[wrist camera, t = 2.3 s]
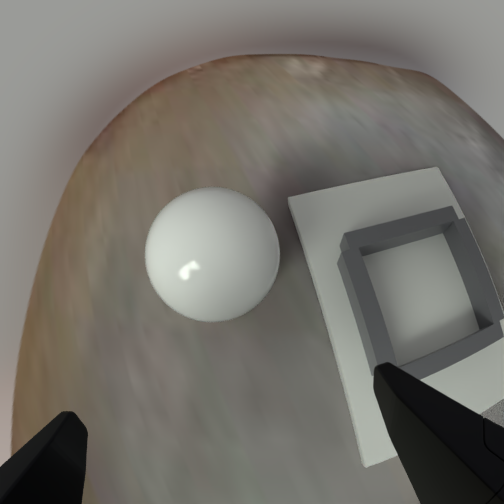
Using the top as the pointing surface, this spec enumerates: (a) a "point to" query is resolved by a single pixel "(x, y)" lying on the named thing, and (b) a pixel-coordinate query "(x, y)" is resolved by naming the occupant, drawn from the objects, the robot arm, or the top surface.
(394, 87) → the top surface
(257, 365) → the top surface
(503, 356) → the bulb holder
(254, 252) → the lightbulb
